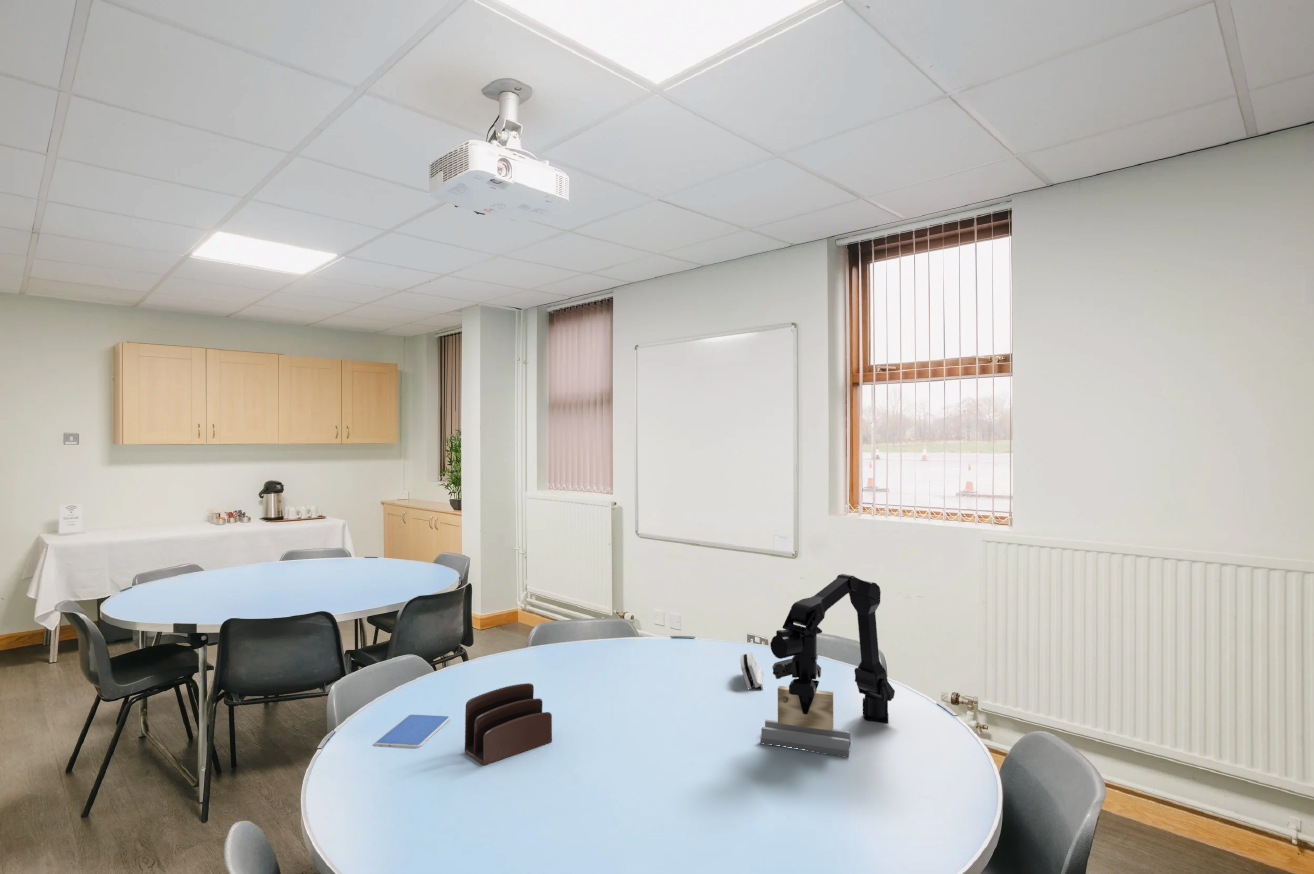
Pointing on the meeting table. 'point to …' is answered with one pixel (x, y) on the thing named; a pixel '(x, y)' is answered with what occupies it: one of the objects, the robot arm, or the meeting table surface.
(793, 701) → the door panel
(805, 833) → the meeting table surface
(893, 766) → the meeting table surface
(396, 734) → the tablet computer
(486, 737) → the letter holder
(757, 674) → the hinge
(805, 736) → the door track
